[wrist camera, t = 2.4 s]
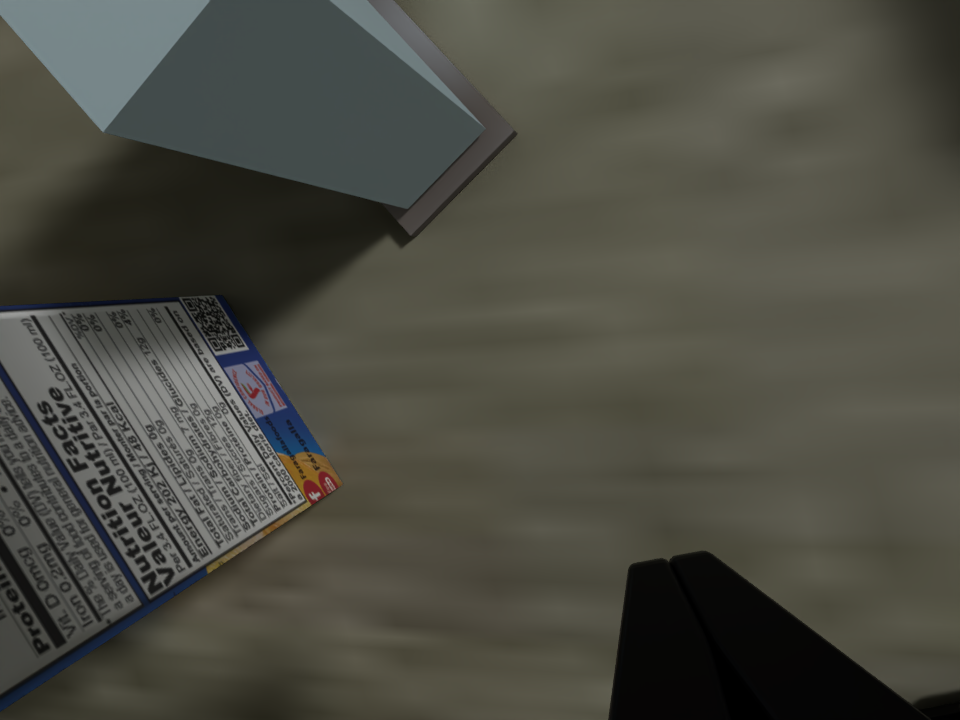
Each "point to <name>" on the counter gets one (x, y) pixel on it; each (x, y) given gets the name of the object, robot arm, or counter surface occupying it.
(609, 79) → the counter surface
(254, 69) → the blue-grey rectangular block
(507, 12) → the counter surface
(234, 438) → the blue cardboard tall box
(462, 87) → the brown piece
